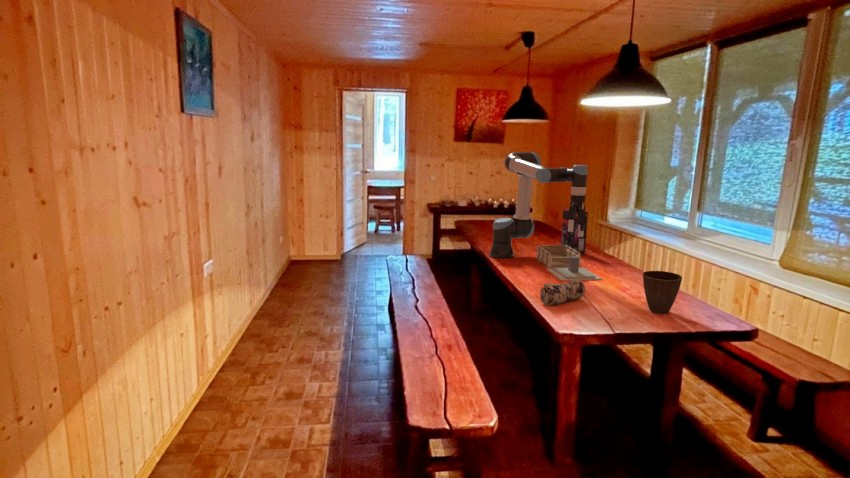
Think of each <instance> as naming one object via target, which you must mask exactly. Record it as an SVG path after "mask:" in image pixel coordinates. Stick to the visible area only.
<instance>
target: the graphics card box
mask: <svg viewBox="0 0 850 478" xmlns="http://www.w3.org/2000/svg"><path fill="white" fill-rule="evenodd" d="M568 211H569V208H565V209H563V210H562V222H561V223H562V225H561V238H560V240H561V241H560V245H567V246H569V247H571V248H572V249H574V250H576V251H578V252H579V253H581V254H585V253H586V242H587V230H588V223H587V224H585V225H584V235H583V237H578V227H579V225H578V224H579V219H578V215H577V214H575V216H574V219H572V220H574V226H573V232H568V222H569V219H568V218H567V215H568ZM585 213H586V221H587V222H588V216H589V211H585Z"/></svg>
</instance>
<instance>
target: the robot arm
mask: <svg viewBox="0 0 850 478" xmlns="http://www.w3.org/2000/svg"><path fill="white" fill-rule="evenodd" d="M503 164H504V167H505V169H506V170H507V171H509V172H511V173H516V175H517V176H518V184H517V194H516V196H517V197H516V204H515V205H516V207H515V214H513V215H512V218H510V217H505V218H504V217H501V218H497V219H495V220H494V221H493V224H492V244H491V247H490V250H489V256H490V257H492V258H496V259H509V258H510V259H511V258H513V257H514V254H515V251H514V249H513V246H512V240H513V239H521V238H522V239H525V238H529V237H531V236H532V235H533V234H534V231H535V223H534V220H533V219H532V217H531V215H530V212H531V211H530V210H531V203H532V201H531V200H532V191H533V181H534V179H536V180H537V182H538V183H543V184H546V183H559V182H560V183H565V182H567V183H571V187H570V199H569V200H570V202H569V208H568V209H569V211H568V215H567V218H568V219H569V222H568V232H573V226H574V220H572V219H574V216H575V214H577V215H578V219H579V224H578V225H579V227H578V237H583V235H584V225H585V224H587V225H588V220H587V221H586V213H585V212H586V205H585V204H583V203H586V199H587V198H586V197H587V196H586V193H587V190H588V189H587V184H588V174H589V173H588V171H589V170H588V165H586V164H573V166H572V167H567V166H562V167H547V166H544V165H542V160H541V158H540V156H539V154H538V153H536V152H535V151H534V152H531V151H525V152H523V151H521V152H517V151H515V152H514V151H513V152H511V153H509V154H508V155H507V156H506V157H505V159H504V161H503Z"/></svg>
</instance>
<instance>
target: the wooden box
mask: <svg viewBox="0 0 850 478" xmlns="http://www.w3.org/2000/svg"><path fill="white" fill-rule="evenodd" d="M536 247H537V248H536V249H537V250H536V260H537V261H538V262H539V263H540V264H542V265H543V266H545V267H546V269H552V267H569V256H577V257H579V266H580V267H581V265H580V264H581V254H582V253H579V252H578V251H576V250H574V249H572V248H571V247H569V246H567V245H561V244H552V245H551V244H546V245H545V244H544V245H543V244H542V245H537V246H536Z"/></svg>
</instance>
